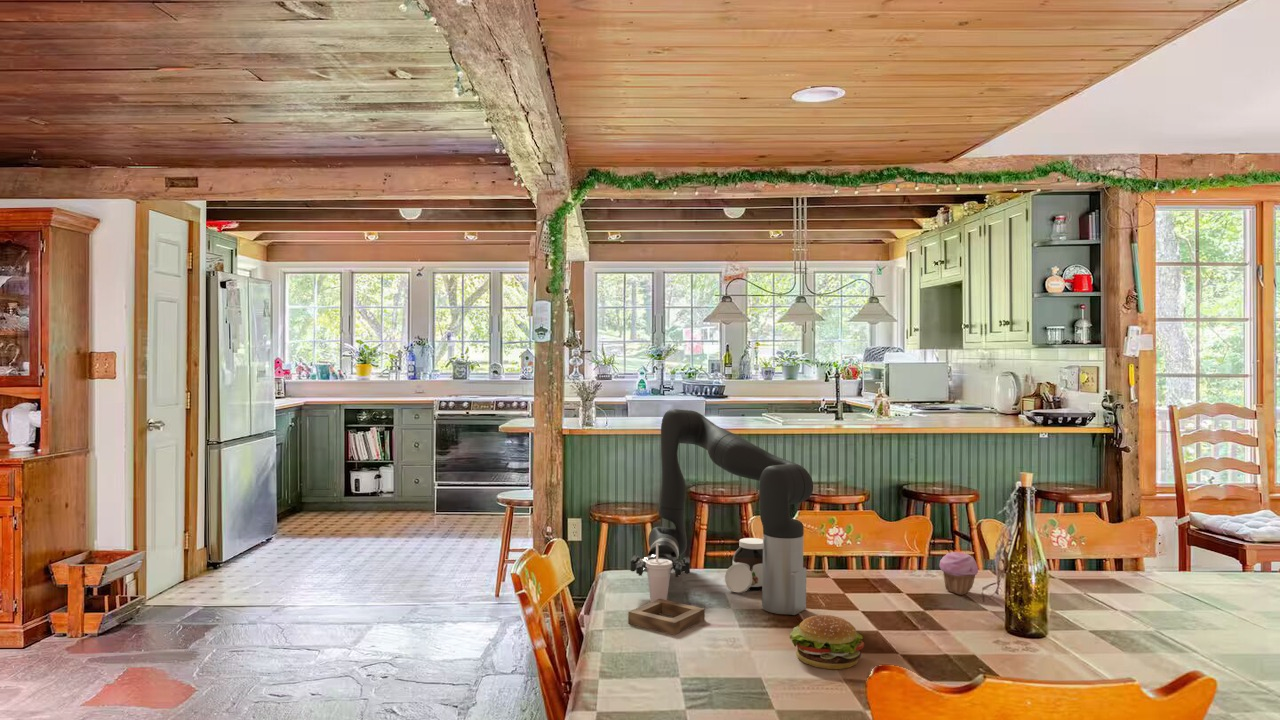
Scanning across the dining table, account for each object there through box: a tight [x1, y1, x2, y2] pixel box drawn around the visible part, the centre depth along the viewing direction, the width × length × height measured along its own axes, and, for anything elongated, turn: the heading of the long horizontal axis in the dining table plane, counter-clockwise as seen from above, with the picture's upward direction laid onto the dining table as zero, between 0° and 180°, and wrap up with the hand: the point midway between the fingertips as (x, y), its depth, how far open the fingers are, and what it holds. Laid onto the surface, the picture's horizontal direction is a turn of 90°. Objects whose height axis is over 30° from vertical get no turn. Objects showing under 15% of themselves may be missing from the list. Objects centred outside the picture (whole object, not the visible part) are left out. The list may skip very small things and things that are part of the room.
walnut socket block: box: [627, 599, 706, 636], centre depth 175 cm, size 12×12×2 cm
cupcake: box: [939, 551, 979, 596], centre depth 201 cm, size 9×9×10 cm
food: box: [789, 614, 865, 670], centre depth 155 cm, size 14×14×8 cm
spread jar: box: [724, 537, 763, 594], centre depth 202 cm, size 12×11×12 cm
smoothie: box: [646, 543, 673, 602], centre depth 189 cm, size 6×6×14 cm
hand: (658, 572), depth 187 cm, fingers open, 8 cm apart
